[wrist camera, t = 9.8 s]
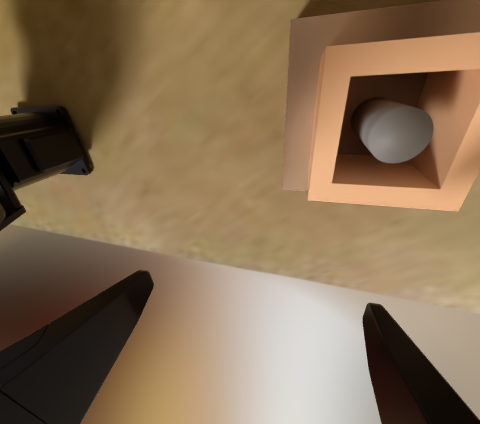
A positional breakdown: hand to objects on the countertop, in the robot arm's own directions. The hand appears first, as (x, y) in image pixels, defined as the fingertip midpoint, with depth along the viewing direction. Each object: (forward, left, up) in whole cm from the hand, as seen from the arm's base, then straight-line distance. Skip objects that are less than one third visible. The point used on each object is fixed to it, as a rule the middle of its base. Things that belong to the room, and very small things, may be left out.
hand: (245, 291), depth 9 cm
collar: (+5, +5, -10) cm, 12 cm away
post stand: (+6, +5, -11) cm, 14 cm away
